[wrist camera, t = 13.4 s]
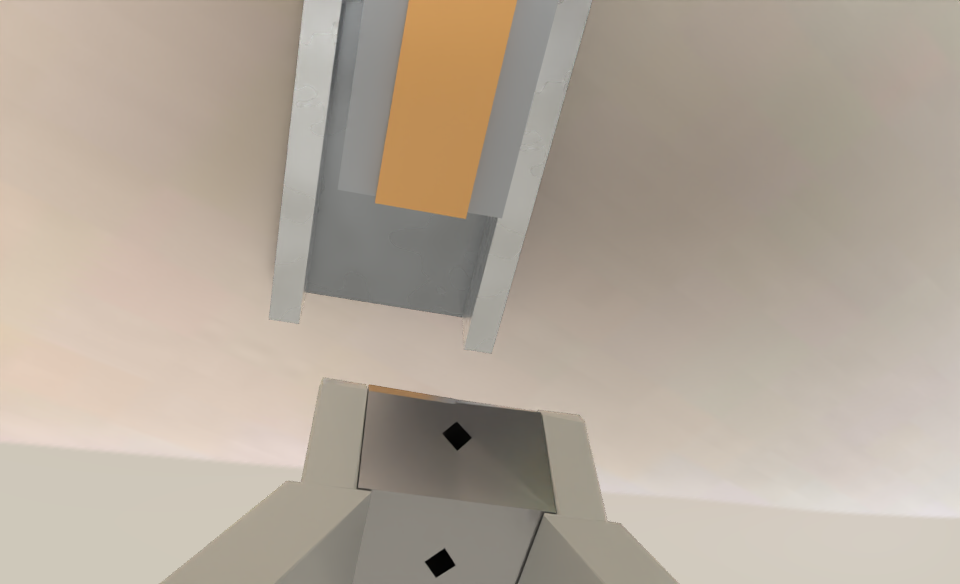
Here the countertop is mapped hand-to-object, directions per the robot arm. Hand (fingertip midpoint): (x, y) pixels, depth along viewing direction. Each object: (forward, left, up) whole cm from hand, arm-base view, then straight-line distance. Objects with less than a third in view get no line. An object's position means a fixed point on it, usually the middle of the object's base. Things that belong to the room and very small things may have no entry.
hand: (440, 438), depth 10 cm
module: (0, 0, -18) cm, 18 cm away
